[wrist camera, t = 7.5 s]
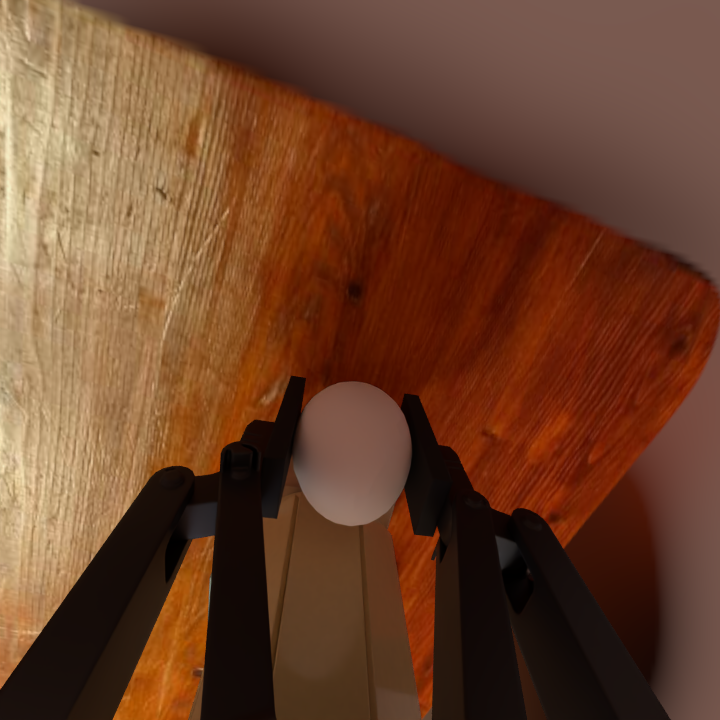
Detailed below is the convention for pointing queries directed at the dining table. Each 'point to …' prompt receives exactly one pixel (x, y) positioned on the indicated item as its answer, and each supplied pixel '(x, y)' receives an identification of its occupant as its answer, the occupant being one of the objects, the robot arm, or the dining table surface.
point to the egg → (352, 452)
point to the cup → (334, 620)
